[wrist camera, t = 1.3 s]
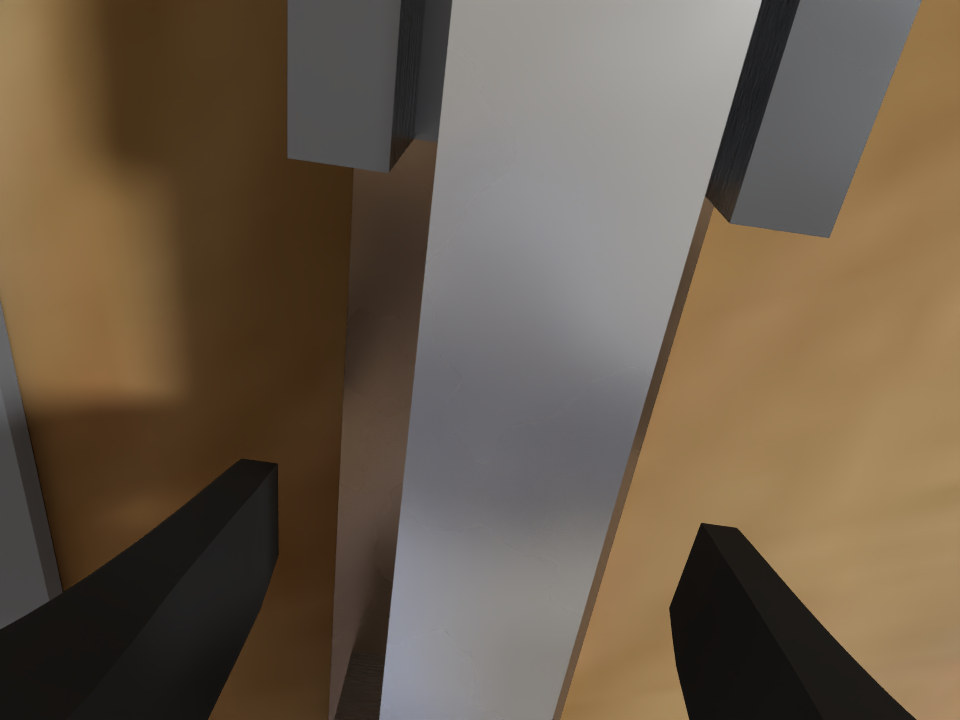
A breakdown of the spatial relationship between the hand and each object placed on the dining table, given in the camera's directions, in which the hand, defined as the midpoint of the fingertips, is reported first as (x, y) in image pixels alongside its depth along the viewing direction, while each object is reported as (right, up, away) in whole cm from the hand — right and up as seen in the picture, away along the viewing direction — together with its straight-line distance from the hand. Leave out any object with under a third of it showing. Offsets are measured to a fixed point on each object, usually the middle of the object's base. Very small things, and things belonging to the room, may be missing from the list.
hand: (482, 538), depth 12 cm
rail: (0, 0, 0) cm, 0 cm away
